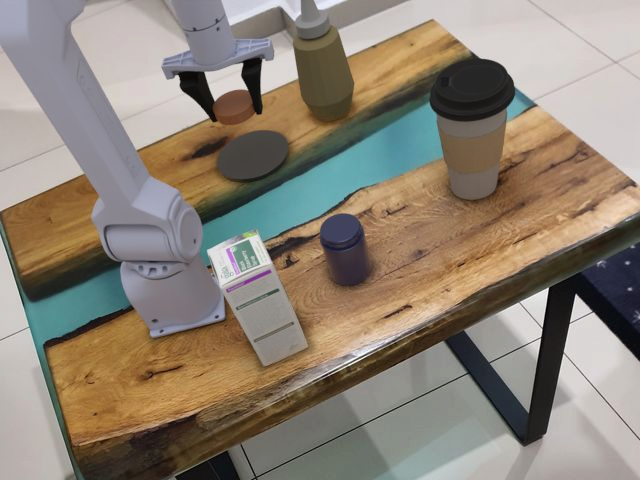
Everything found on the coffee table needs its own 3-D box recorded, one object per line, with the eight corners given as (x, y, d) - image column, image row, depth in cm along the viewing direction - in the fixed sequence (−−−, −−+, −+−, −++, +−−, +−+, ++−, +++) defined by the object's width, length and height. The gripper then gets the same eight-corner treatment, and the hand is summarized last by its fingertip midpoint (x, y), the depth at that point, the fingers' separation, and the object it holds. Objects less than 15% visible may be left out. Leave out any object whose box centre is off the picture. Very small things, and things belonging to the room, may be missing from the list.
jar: (334, 291, 78) (321, 249, 72) (326, 260, 81) (313, 218, 75) (376, 279, 77) (366, 236, 71) (367, 249, 80) (357, 206, 75)
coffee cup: (425, 177, 86) (413, 75, 74) (489, 150, 86) (488, 44, 74) (458, 220, 80) (451, 116, 68) (527, 191, 81) (532, 83, 69)
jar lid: (259, 95, 91) (256, 86, 90) (255, 122, 87) (251, 112, 86) (219, 102, 92) (215, 92, 91) (213, 128, 88) (209, 118, 87)
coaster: (220, 190, 93) (218, 187, 92) (216, 144, 99) (215, 141, 99) (294, 170, 92) (293, 167, 92) (285, 125, 99) (284, 122, 98)
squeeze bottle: (298, 109, 101) (265, -9, 86) (344, 87, 101) (320, -32, 87) (319, 134, 96) (288, 15, 81) (367, 112, 97) (345, -11, 82)
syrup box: (310, 348, 73) (275, 261, 62) (262, 369, 73) (218, 286, 61) (294, 313, 77) (258, 225, 65) (248, 334, 76) (203, 248, 65)
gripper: (262, -10, 80) (290, 88, 91) (153, 13, 83) (192, 105, 93) (257, 20, 76) (287, 118, 87) (142, 43, 79) (185, 136, 89)
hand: (238, 114), depth 90 cm, fingers closed on jar lid, 6 cm apart
